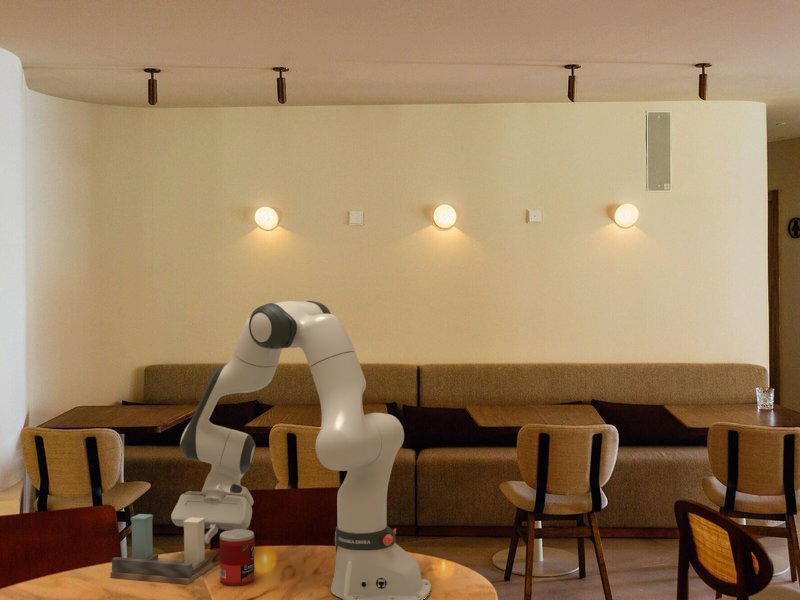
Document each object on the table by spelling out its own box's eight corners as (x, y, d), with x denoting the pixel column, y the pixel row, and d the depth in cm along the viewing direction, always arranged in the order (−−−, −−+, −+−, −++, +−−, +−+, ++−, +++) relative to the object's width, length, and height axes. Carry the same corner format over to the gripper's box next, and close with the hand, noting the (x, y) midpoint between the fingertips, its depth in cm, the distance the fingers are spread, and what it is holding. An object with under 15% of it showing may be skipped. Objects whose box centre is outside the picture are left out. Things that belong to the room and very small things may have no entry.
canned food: (247, 587, 193) (246, 539, 193) (214, 585, 195) (213, 537, 194) (259, 576, 201) (259, 529, 200) (227, 574, 202) (227, 528, 202)
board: (211, 567, 207) (211, 550, 207) (187, 584, 195) (187, 566, 195) (138, 561, 212) (138, 544, 212) (110, 577, 200) (110, 560, 200)
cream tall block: (205, 562, 206) (205, 518, 206) (198, 567, 202) (197, 522, 202) (191, 561, 207) (190, 517, 207) (183, 566, 203) (183, 521, 203)
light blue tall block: (153, 558, 209) (153, 514, 209) (145, 563, 206) (144, 518, 206) (139, 557, 210) (139, 513, 210) (131, 562, 207) (130, 517, 206)
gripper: (178, 484, 218) (158, 533, 208) (252, 488, 213) (235, 538, 203) (186, 497, 222) (168, 545, 213) (259, 501, 217) (243, 551, 208)
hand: (201, 542), depth 208 cm, fingers closed
